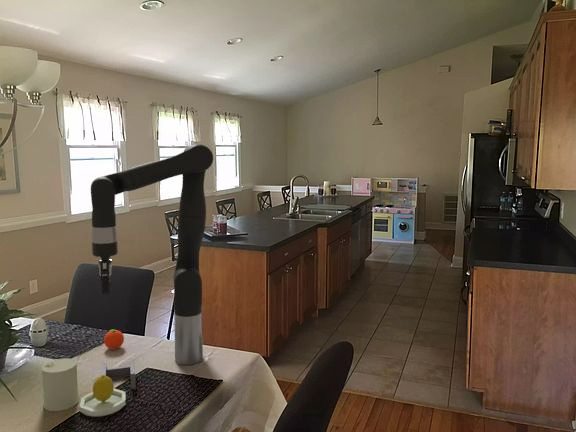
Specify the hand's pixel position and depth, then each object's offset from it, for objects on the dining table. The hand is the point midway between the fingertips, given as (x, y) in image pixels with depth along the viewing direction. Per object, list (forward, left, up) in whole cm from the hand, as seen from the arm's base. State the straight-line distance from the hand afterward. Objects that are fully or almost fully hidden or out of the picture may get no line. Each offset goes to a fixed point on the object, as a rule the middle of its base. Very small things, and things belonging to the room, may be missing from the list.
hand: (106, 289), depth 151 cm
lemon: (+1, +21, -27) cm, 34 cm away
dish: (+1, +21, -28) cm, 35 cm away
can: (+12, +16, -28) cm, 35 cm away
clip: (-3, +9, -28) cm, 30 cm away
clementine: (-1, -20, -28) cm, 35 cm away
